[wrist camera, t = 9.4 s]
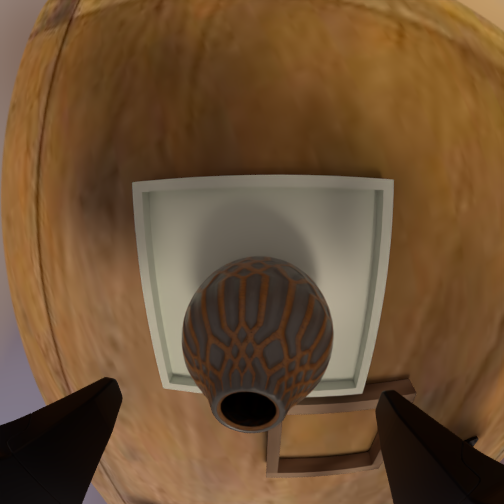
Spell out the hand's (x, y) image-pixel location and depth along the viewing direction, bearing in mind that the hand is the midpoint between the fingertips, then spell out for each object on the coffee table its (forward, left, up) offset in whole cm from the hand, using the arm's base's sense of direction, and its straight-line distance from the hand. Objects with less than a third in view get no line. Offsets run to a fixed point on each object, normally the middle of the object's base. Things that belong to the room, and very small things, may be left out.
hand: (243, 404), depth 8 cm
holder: (-6, +13, -9) cm, 17 cm away
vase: (0, 0, -9) cm, 9 cm away
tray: (0, 0, -9) cm, 9 cm away
